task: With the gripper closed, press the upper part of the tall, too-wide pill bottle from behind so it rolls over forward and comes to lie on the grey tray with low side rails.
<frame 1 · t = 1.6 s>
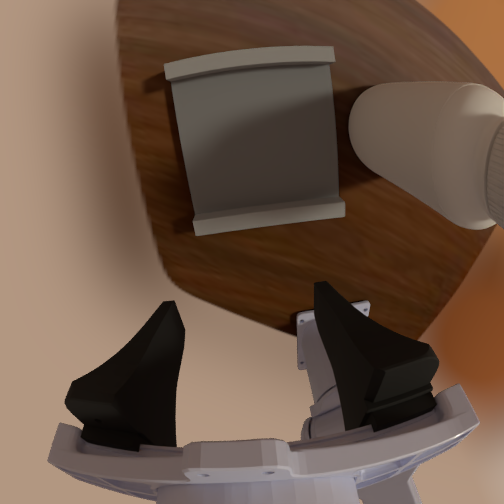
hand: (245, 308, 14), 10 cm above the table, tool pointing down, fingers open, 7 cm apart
pill bottle: (387, 129, 19), on the table
grey tray: (259, 135, 19), on the table
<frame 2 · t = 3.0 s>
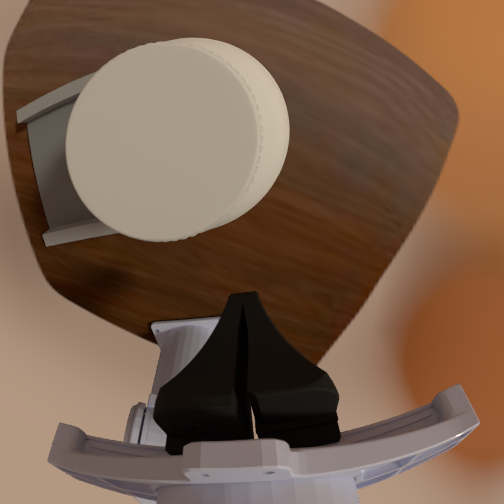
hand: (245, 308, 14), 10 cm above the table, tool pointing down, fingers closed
pill bottle: (208, 128, 19), on the table
grey tray: (85, 157, 19), on the table
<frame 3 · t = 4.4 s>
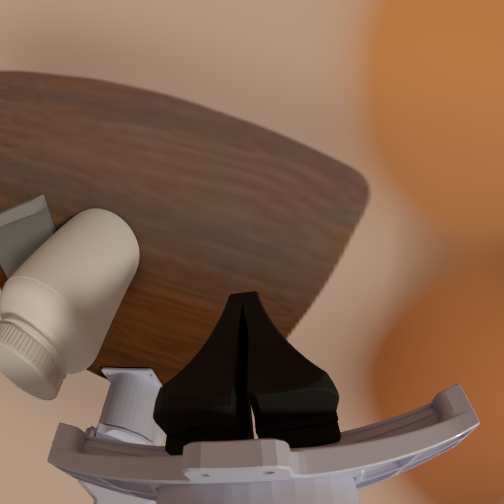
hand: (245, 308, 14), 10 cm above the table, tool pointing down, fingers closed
pill bottle: (104, 245, 23), on the table
grey tray: (31, 260, 23), on the table
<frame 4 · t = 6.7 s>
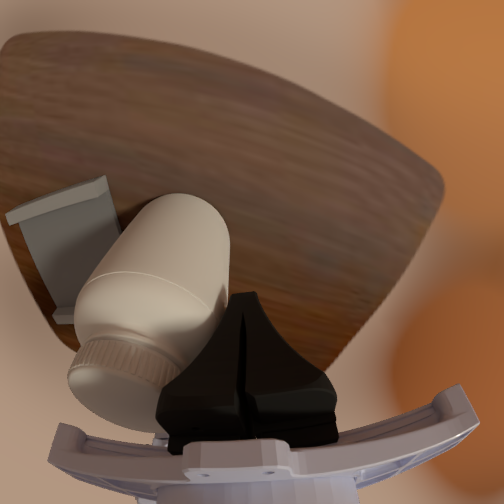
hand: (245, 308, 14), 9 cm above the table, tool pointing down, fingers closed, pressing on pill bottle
pill bottle: (181, 237, 22), on the table, touching gripper
grey tray: (77, 256, 22), on the table
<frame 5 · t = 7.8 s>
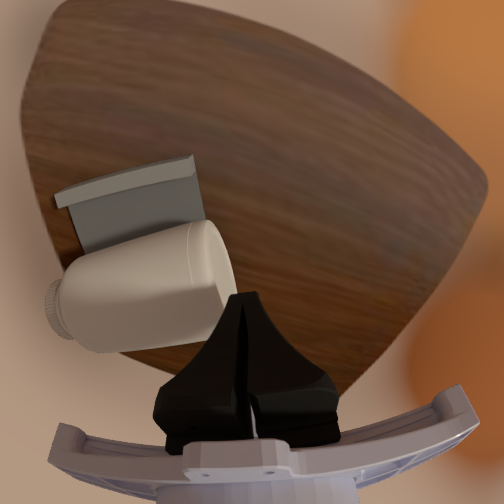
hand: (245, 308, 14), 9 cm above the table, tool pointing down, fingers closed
pill bottle: (229, 275, 18), point 5 cm above the table, touching grey tray
grey tray: (142, 244, 22), on the table
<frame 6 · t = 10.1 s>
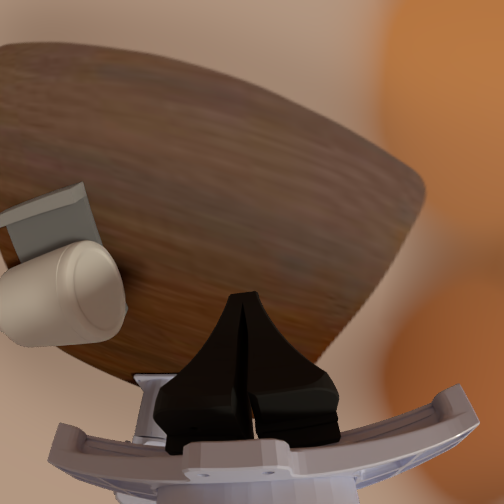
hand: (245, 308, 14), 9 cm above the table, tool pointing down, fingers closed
pill bottle: (103, 289, 19), point 5 cm above the table, touching grey tray
grey tray: (59, 258, 22), on the table
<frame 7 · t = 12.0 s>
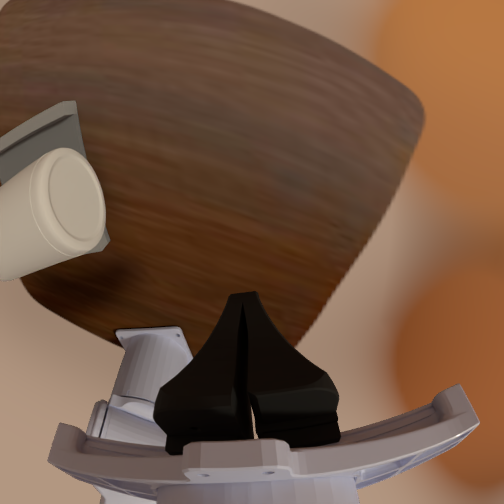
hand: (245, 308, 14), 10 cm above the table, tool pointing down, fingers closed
pill bottle: (81, 196, 16), point 5 cm above the table, touching grey tray
grey tray: (44, 188, 20), on the table
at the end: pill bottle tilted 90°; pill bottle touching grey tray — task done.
